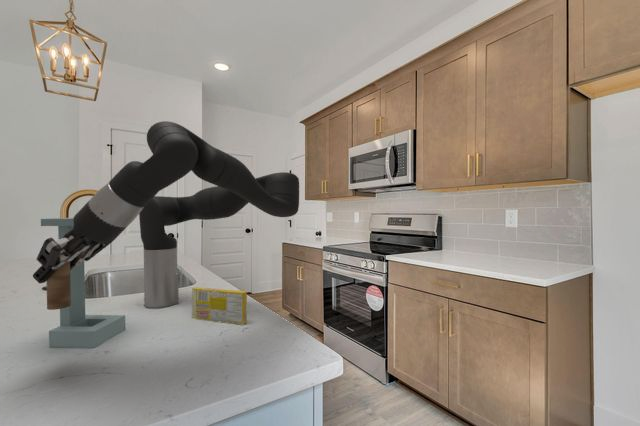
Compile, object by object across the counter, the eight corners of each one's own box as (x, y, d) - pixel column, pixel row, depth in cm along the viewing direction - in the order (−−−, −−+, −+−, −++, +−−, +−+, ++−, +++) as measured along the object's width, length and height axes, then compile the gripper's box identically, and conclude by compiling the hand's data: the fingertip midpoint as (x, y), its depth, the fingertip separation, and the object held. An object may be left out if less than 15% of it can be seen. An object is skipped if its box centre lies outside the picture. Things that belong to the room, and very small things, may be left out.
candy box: (247, 322, 81) (247, 290, 81) (243, 325, 79) (242, 293, 79) (196, 316, 86) (196, 286, 86) (191, 318, 84) (190, 288, 84)
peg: (72, 302, 60) (71, 240, 60) (69, 307, 57) (68, 242, 57) (49, 305, 59) (48, 241, 58) (44, 310, 56) (43, 243, 56)
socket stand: (126, 328, 77) (124, 217, 77) (92, 348, 66) (90, 218, 66) (84, 328, 78) (82, 217, 77) (43, 348, 67) (40, 218, 66)
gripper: (96, 228, 50) (24, 303, 51) (148, 223, 64) (91, 282, 65) (63, 195, 50) (-8, 270, 51) (122, 198, 64) (66, 256, 65)
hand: (48, 276), depth 58 cm, fingers closed on peg, 3 cm apart
